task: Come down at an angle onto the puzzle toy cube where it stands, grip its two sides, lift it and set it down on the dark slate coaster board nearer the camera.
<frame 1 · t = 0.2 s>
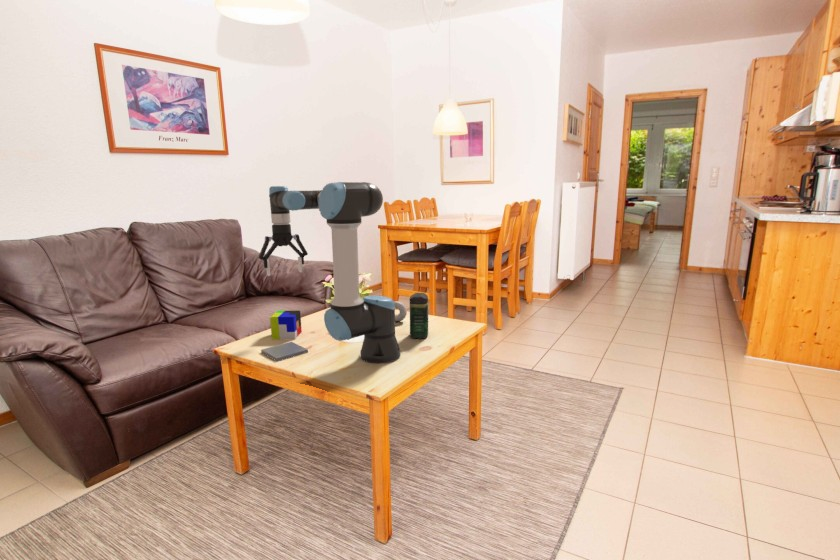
hand: (284, 273, 194), 27 cm above the table, tool pointing down, fingers open, 13 cm apart
donut: (396, 321, 217), on the table
coffee jar: (419, 336, 196), on the table
slate board: (284, 352, 178), on the table
puzzle toy: (287, 336, 199), on the table
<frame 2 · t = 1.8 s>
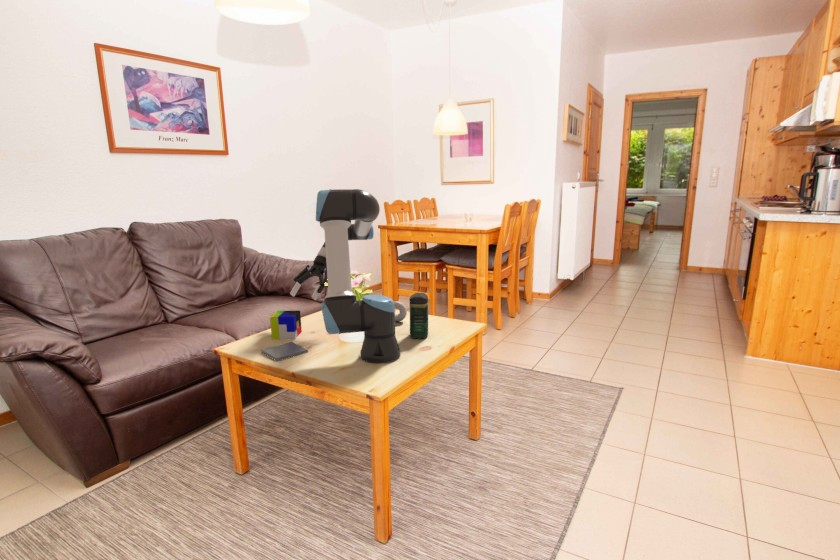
hand: (302, 296, 205), 15 cm above the table, tool tilted 45°, fingers open, 13 cm apart
nothing on the table moved.
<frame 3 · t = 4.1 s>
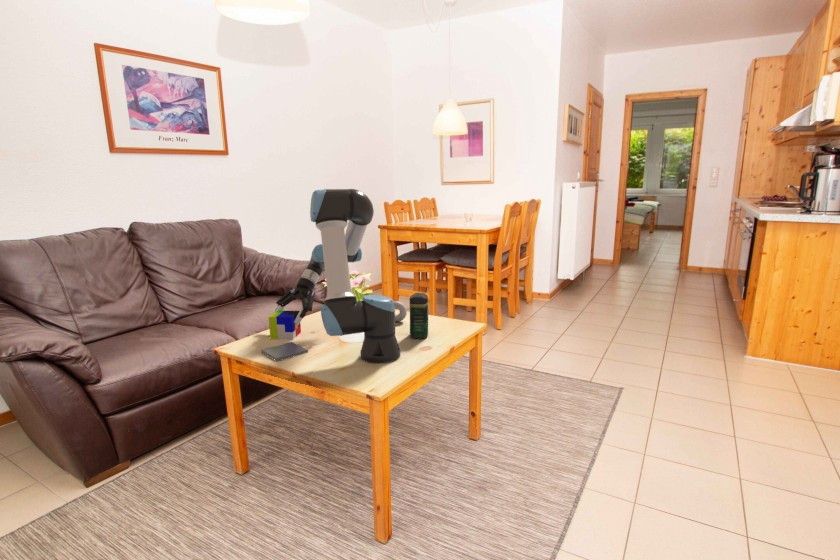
hand: (284, 321, 197), 6 cm above the table, tool tilted 45°, fingers open, 13 cm apart
puzzle toy: (286, 336, 198), on the table, touching gripper
everything else where it was.
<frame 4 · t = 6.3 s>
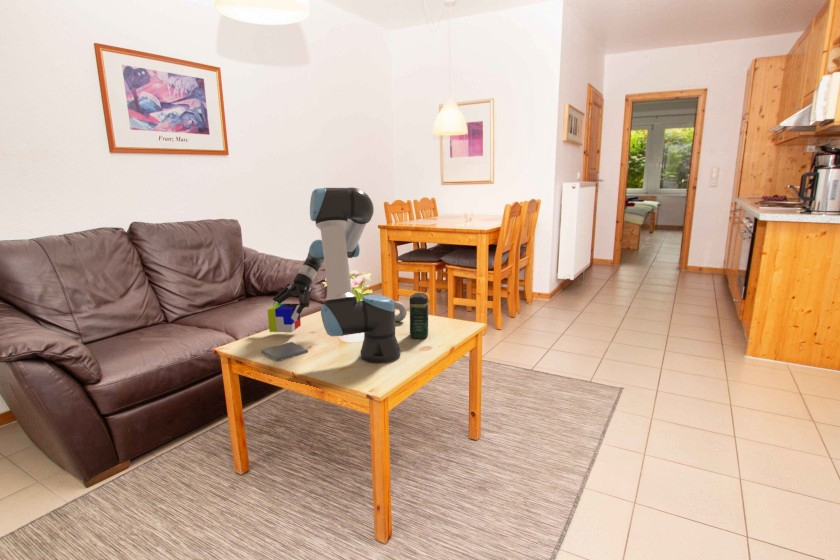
hand: (281, 317, 195), 9 cm above the table, tool tilted 45°, fingers closed on puzzle toy, 13 cm apart
puzzle toy: (285, 329, 197), point 3 cm above the table, touching gripper
everything else where it was.
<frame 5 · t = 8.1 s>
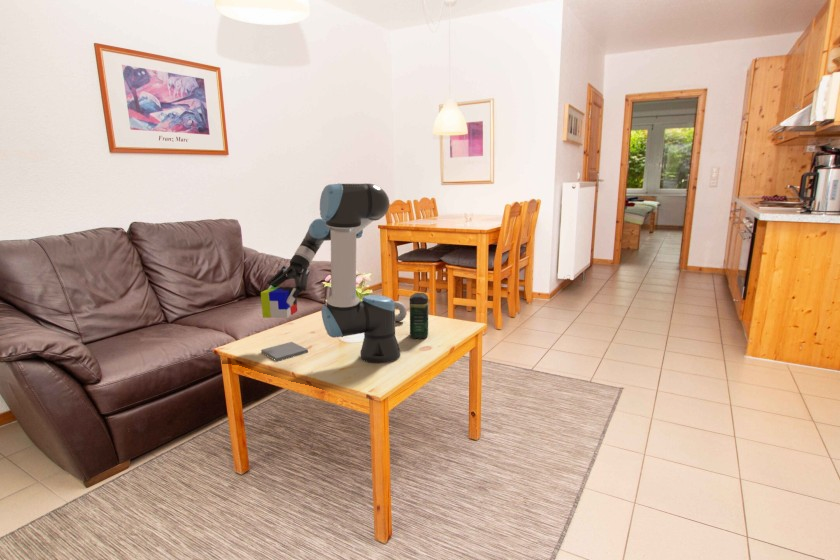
hand: (276, 302, 179), 19 cm above the table, tool tilted 45°, fingers closed on puzzle toy, 13 cm apart
puzzle toy: (280, 314, 181), point 14 cm above the table, touching gripper
everything else where it was.
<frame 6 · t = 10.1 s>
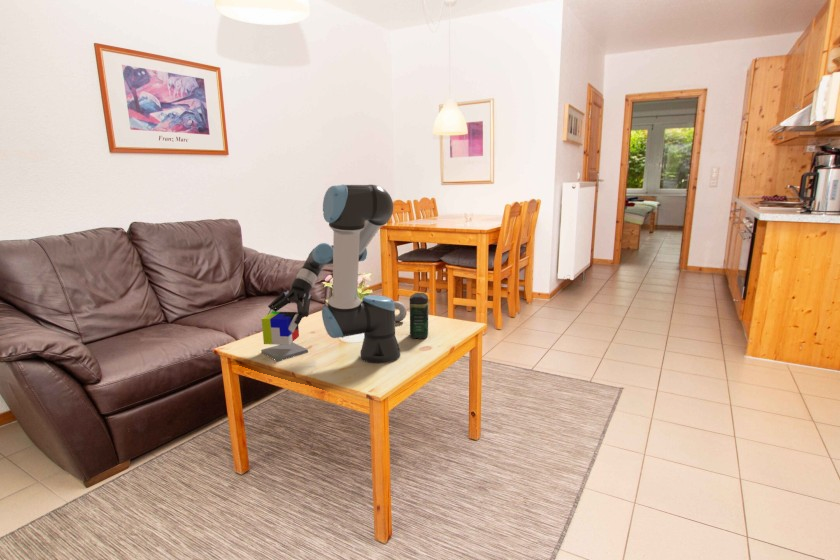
hand: (277, 328, 174), 10 cm above the table, tool tilted 45°, fingers closed on puzzle toy, 13 cm apart
puzzle toy: (281, 340, 176), point 5 cm above the table, touching gripper
everything else where it was.
when the fingers open (8 cm above the table, at t = 11.6 s): puzzle toy stays where it is, resting on slate board.
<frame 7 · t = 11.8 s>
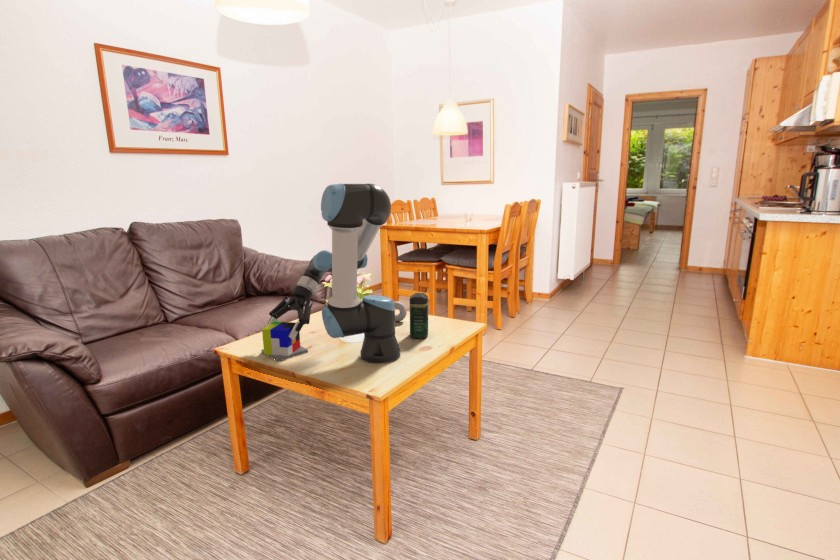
hand: (278, 335, 174), 8 cm above the table, tool tilted 45°, fingers open, 13 cm apart
puzzle toy: (282, 351, 177), point 1 cm above the table, touching gripper, slate board
everything else where it was.
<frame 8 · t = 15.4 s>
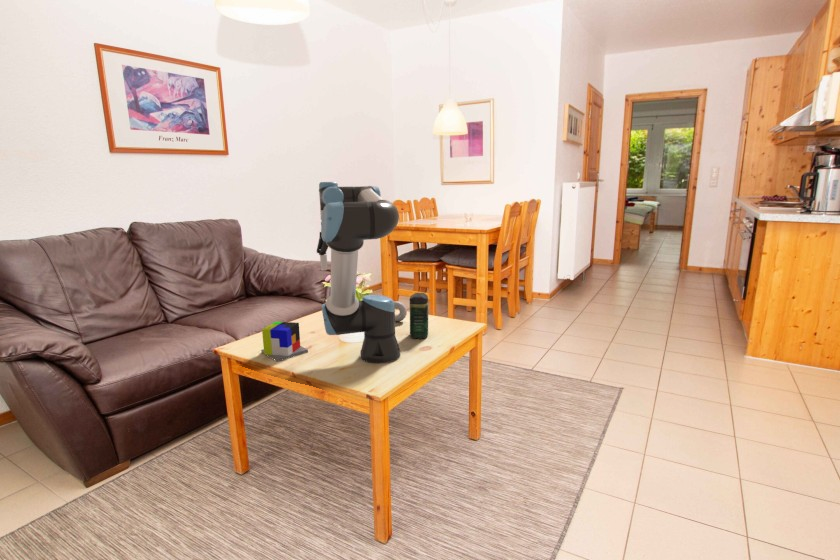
hand: (333, 272, 188), 29 cm above the table, tool pointing down, fingers open, 13 cm apart
puzzle toy: (282, 351, 177), point 1 cm above the table, touching slate board
everything else where it was.
at the end: puzzle toy inside the target area on the slate board (1.1 cm from its centre), point 1.0 cm above the slate board's base; puzzle toy tilted 0°; the gripper is holding nothing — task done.
